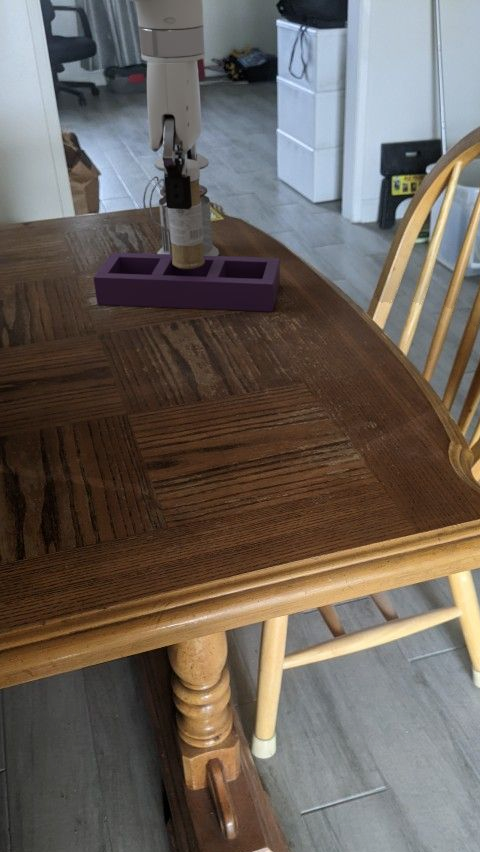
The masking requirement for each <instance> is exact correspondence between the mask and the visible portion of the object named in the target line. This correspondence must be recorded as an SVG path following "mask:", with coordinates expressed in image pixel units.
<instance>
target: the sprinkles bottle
mask: <svg viewBox="0 0 480 852" xmlns="http://www.w3.org/2000/svg"><path fill="white" fill-rule="evenodd" d="M179 160H180V161H181V159H179ZM187 176H190V182H191V198H192V207H191V208H190V209H169V208H168V215H169V227H170V238H171V245H172V257H173V259H172V263H173V265H174V266H176V267H177V268H181V269H194V268H198V267H200V266H202V265H203V264H204V262H205V259H204V256H203V228H202V211H201V201H200V190H199V184H200V178H201V169H199V163H198V162H197V161H195V160H191V159H187Z"/></svg>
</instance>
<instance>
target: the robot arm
mask: <svg viewBox="0 0 480 852" xmlns="http://www.w3.org/2000/svg"><path fill="white" fill-rule="evenodd" d="M128 1H129V2H135V3H136V13H137V15H136V16H137V25H138V33H139V34H138V36H139V47H140V57H141V60H143V61H145V62H147V63H146V101H147V102H146V104H147V122H148V142H149V148H150V150H151V151H152V152H154V153H155V152H158V151H159V150H160V149H161V148H162V155H161V156H162V158H163V161H164V171H163V179H164V180H165V192H166V203H165V204H166V207H168V208H169V209H190V208H191V207H192V198H191V182H190V176H187V159H191V160H195V161H197V153H198V151H197V143H196V142H197V141H198V139H199V138H200V136H201V134H202V133H201V132H202V107H201V105H202V104H201V92H200V90H201V89H200V77H199V67H198V61H200V60H204V59H205V58H206V46H205V45H206V44H205V26H204V24H205V23H204V5H203V0H128ZM179 159H181V161H180V160H179Z"/></svg>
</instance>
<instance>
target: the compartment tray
mask: <svg viewBox="0 0 480 852" xmlns="http://www.w3.org/2000/svg"><path fill="white" fill-rule="evenodd" d="M172 259H173V257H172V254H157V253H142V252H141V253H139V252H115V251H114V252H111V253H110V254H109V255H108V257H107V258H106V259H105V261H104V262H103V263H102V265H101V266H100V268H99V269H98V271H96V273H95V274H94V276H93V284H94V291H95V297H96V304H97V305H98V306H118V307H119V306H120V307H122V306H123V307H143V308H144V307H147V308H148V307H149V308H169V309H172V308H173V309H194V310H196V309H198V310H220V311H221V310H222V311H244V312H245V311H246V312H266V313H267V312H270V313H273V312H274V309H275V305H276V301H277V297H278V293H279V289H280V285H281V282H280V281H281V278H280V277H281V273H280V271H281V270H280V269H281V266H280V265H281V260H280V259H281V258H280V257H258V256H257V257H256V256H255V257H253V256H227V255H226V256H225V255H218V256H204V259H205V262H204V264H203V265H202V266H200V267H198V268H194V269H181V268H177V267H176V266H174V265H173V263H172Z"/></svg>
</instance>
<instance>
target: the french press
mask: <svg viewBox="0 0 480 852" xmlns="http://www.w3.org/2000/svg"><path fill="white" fill-rule="evenodd" d="M197 162H198V163H199V169H200V170H203V169H205V168H206V167H208V166H209V163H210V161H209V159H208V158H207V157H205V156H203V155H201V154H199V153H198V152H197ZM153 165H154V167H155V168H156V170H158V171H161V172H164V161H163V158H162V155H161V156H160V157H159V158H157V159H156V160H155V161H154V162H153ZM155 179H156V180H157V181H156V183H154V185H153V187H152V189H151V192H150V196H149V202H148V204H149V213H150V216H151V218H152V220H151V218H150V216H149V214H148V212H147V206H146V196H147V195H146V194H147V191H148V188H149V186H150V184H152V182H153V181H154V180H155ZM161 182H163V183H162V184H163V185H161V184H160V183H161ZM156 187H159V188H161V189H160V190H159V194H160V196H162V197H161V198H160V199H159V200H158V206H159V219H160V224H159V223H158V222H157V221H156V219H155V217H154V214H153V210H152V200H153V195H154V194H153V193H154V191H155V190H156ZM199 190H200V201H201V211H202V228H203V256H220V251H219V248H218V247H216V246H215V245H214V244H213V235H212V234H213V233H212V232H213V231H212V220H211V216H212V214H211V200H210V198H209V196H207V193H208V188H207V187H206V186H205V185H202V184H200V183H199ZM142 203H143V211H144V214H145V217H146V218H147V220H148V222H150V223H151V224H152V225H154V226H157V227H158V228H160V229H161V236H162V237H161V239H162V240H161V241H162V247H161V248H159V250H158V251H157V253H156V254H172V245H171V238H170V227H169V215H168V207H167V206H165V207H164V208H163V206H164V205H165V204H166V192H165V180H164V178H160V179H159V177H158V176H156V175H155V176H154V177H152V178H151V179H150V180H149V181H148V182H147V184H146V186H145V189H144V192H143V197H142ZM164 215H165V216H164ZM164 223H165V224H164ZM165 231H166V233H165Z"/></svg>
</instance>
